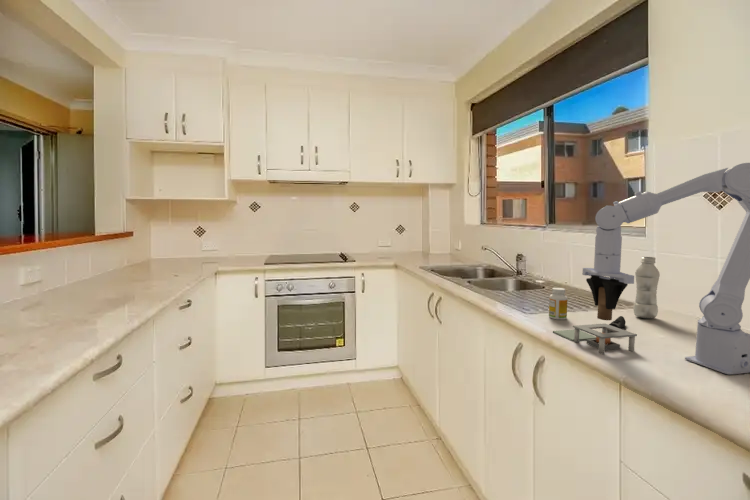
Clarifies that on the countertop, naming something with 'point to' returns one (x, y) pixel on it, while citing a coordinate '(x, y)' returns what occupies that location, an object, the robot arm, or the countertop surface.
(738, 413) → the countertop surface
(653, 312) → the plastic bottle
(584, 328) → the guard
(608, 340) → the plunger
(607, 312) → the dowel
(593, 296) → the robot arm
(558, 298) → the supplement bottle
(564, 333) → the coaster
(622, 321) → the electric trimmer
